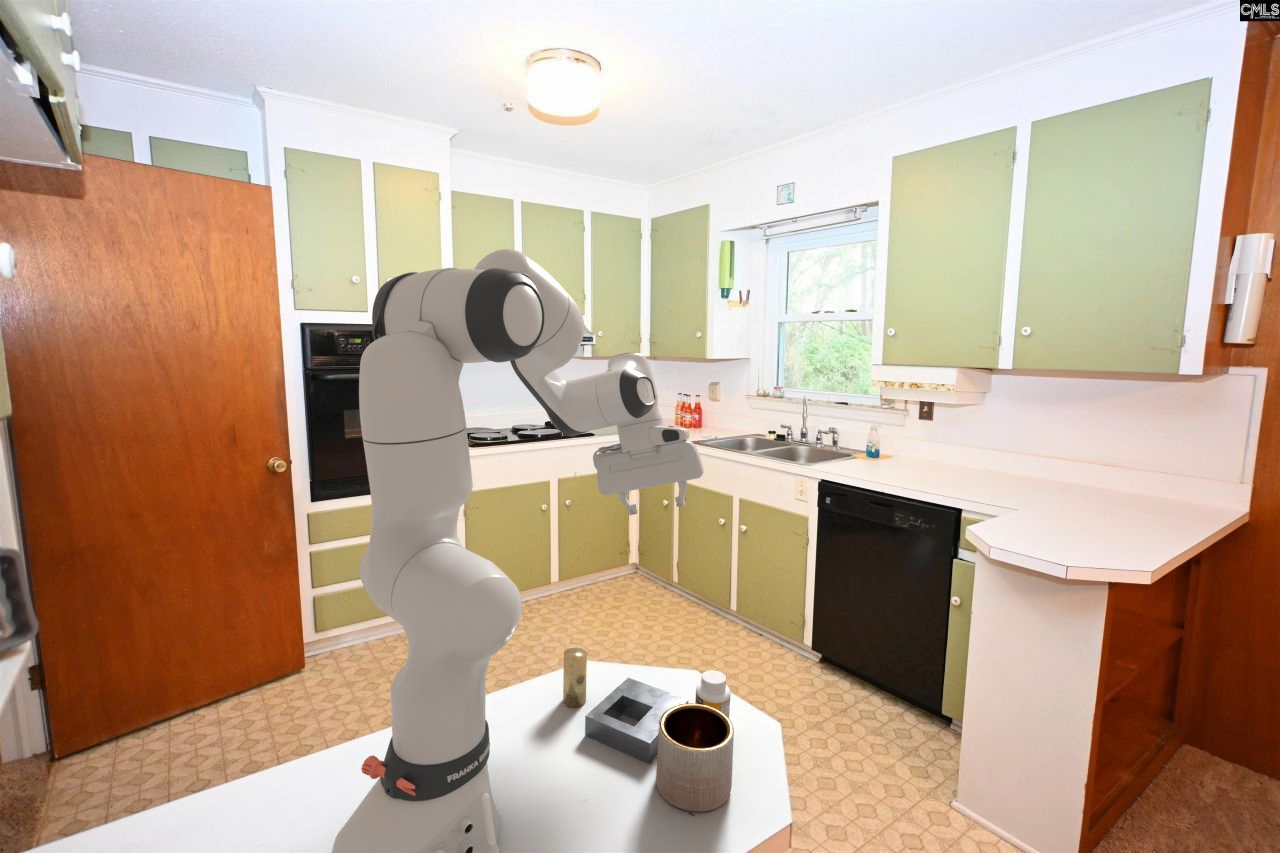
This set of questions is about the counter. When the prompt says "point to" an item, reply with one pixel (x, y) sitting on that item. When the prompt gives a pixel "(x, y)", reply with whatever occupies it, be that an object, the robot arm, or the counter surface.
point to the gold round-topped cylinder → (574, 677)
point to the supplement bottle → (714, 691)
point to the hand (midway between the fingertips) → (656, 510)
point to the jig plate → (637, 705)
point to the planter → (695, 757)
